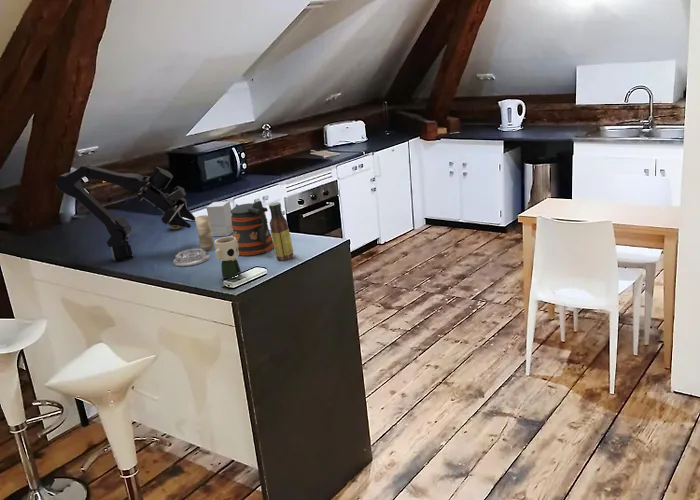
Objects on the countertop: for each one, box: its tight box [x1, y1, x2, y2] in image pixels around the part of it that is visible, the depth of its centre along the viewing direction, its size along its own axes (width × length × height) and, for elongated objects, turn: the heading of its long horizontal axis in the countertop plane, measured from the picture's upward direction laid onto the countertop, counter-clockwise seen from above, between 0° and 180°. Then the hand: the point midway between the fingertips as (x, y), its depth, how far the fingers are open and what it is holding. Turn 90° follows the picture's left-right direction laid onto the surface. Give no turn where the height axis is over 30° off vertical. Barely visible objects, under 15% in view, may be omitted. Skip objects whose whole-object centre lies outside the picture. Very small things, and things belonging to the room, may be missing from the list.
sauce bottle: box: [268, 201, 295, 261], centre depth 237 cm, size 7×6×20 cm
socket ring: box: [172, 247, 211, 268], centre depth 250 cm, size 13×13×3 cm
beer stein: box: [230, 200, 274, 257], centre depth 248 cm, size 19×15×20 cm
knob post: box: [194, 214, 215, 252], centre depth 260 cm, size 5×5×12 cm
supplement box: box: [206, 200, 233, 238], centre depth 277 cm, size 7×7×13 cm
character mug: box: [214, 236, 242, 279], centre depth 226 cm, size 11×7×13 cm, turn 150°
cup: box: [167, 221, 181, 231], centre depth 293 cm, size 8×7×8 cm
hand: (192, 223), depth 258 cm, fingers open, 9 cm apart
